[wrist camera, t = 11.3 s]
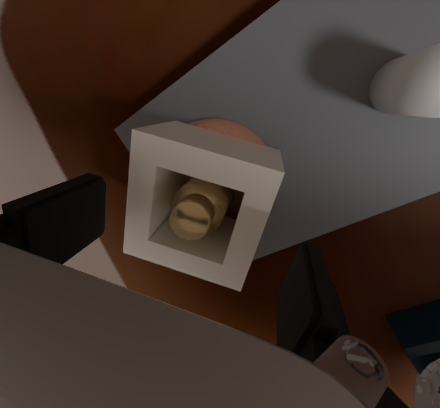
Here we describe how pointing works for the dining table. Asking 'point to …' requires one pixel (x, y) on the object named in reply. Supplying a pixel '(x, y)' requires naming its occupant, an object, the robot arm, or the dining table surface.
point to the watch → (421, 349)
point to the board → (325, 107)
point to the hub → (208, 191)
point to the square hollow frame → (205, 170)
